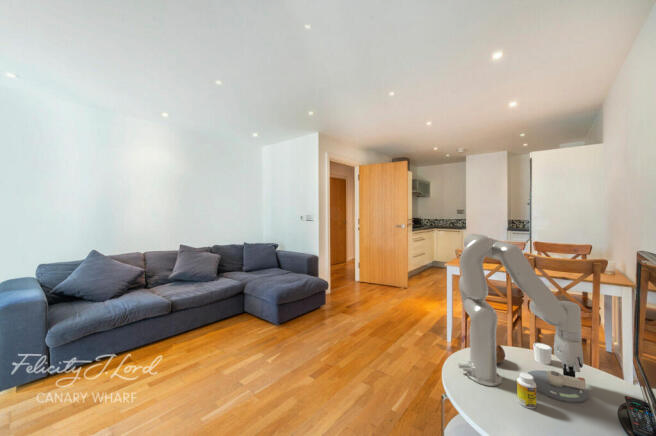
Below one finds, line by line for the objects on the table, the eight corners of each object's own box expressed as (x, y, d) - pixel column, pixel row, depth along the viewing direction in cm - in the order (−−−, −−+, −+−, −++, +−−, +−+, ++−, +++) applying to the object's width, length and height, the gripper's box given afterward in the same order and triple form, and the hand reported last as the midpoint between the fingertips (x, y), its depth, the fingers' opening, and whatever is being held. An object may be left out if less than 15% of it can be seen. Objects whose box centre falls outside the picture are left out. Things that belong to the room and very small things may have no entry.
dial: (540, 398, 97) (540, 394, 97) (518, 370, 114) (518, 367, 114) (600, 406, 92) (600, 402, 92) (568, 376, 110) (567, 372, 110)
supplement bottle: (528, 410, 91) (527, 381, 91) (513, 400, 97) (513, 372, 97) (540, 407, 92) (540, 379, 92) (525, 397, 98) (525, 370, 98)
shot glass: (556, 365, 117) (555, 350, 117) (538, 364, 119) (538, 349, 119) (546, 357, 124) (546, 343, 124) (530, 356, 125) (529, 342, 125)
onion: (502, 371, 119) (512, 356, 115) (480, 364, 121) (489, 349, 117) (496, 354, 127) (505, 339, 123) (475, 347, 129) (484, 333, 125)
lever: (549, 385, 102) (549, 374, 102) (545, 378, 107) (545, 368, 106) (587, 392, 97) (587, 381, 97) (581, 385, 102) (581, 374, 102)
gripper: (546, 325, 112) (547, 368, 112) (569, 341, 97) (571, 391, 97) (566, 326, 110) (567, 369, 110) (594, 343, 95) (595, 393, 96)
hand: (569, 379), depth 104 cm, fingers closed
